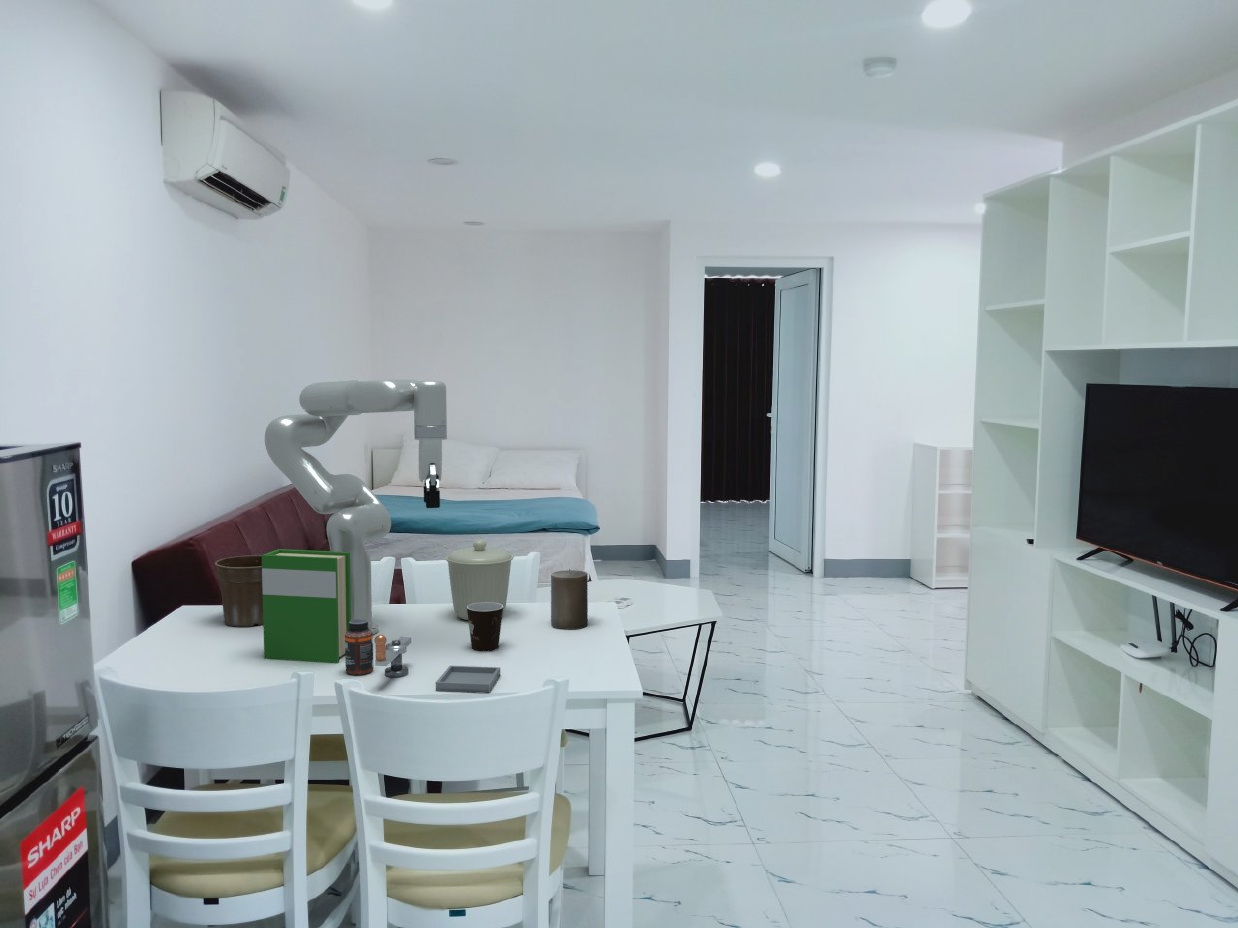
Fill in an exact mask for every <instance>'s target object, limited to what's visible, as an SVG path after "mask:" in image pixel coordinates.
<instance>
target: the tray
mask: <svg viewBox="0 0 1238 928" xmlns="http://www.w3.org/2000/svg"><path fill="white" fill-rule="evenodd" d="M500 677H501V667H498V666H497V667H496V666H494V667H493V666H475V665H473V666H472V665H471V666H470V665H469V666H468V665H449V666H448V667H447V668H446V670H445V671H444V672H443V673H442V675H440V677H439V678H438V679H437V680H436V681H435V692H451V693H455V692H456V693H457V692H458V693H475V692H485V693H484V694H489V692H490V693H491V691H492V689H493V688H494V686H495V685H496V683H497V682H498V680H499V678H500ZM496 681H497V682H496ZM494 684H495V685H494Z"/></svg>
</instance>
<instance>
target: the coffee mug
mask: <svg viewBox="0 0 1238 928" xmlns="http://www.w3.org/2000/svg"><path fill="white" fill-rule="evenodd" d="M467 613H468V620H467V621H468V629H469V637H470V644H471V645H470V646H471V649H472V651H476V652H481V653H482V652H483V653H484V652H491V651H496V650H498V649H499V646H500V638H501V628H502V622H503V614H504V613H503V605H502V604H499V603H493V602H480V603H474V604H470V605H468V606H467ZM502 613H503V614H502Z"/></svg>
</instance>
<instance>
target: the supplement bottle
mask: <svg viewBox="0 0 1238 928" xmlns="http://www.w3.org/2000/svg"><path fill="white" fill-rule="evenodd" d="M344 662H345V663H344V664H345V673H347V674H349V675H352V676H361V675H366V674H370V673H371V672H372V671H374V666H375V664H374V634H373V633H372V631H371V630H370V629H369V628H368V620H365V619H356V620H352V621H350V622H349V630H348V631H347V632H346V633H345V661H344Z"/></svg>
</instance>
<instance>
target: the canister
mask: <svg viewBox="0 0 1238 928" xmlns="http://www.w3.org/2000/svg"><path fill="white" fill-rule="evenodd" d="M514 557H515V556H514V555H513V554H512V553H510V552H508V550H506V549H503V548H498V547H497V548H496V547H489V546H488V547H487V541H485V540H484V539H481V538H480V539H476V540H474V541H473V543H472V547H466V548H465V547H464V548H460V549H456V550H453V551H452V552H450V553H449V554H448V555H446V556H445V557H444V558H445V561H446V562H447V564H448V565H447V566H448V573H449V575H448V576H449V582H450V583H449V584H450V591H451V592H450V594H451V599H452V607H453V610H454V613H455V614H456V616H457V617H458V618H459V619H461V620H464V621H468V613H467V606H468V605H470V604H474V603H480V602H493V603H499V604H502V605H503V613H502V615H503V614H504V612H505V611H506V607H507V600H508V593H509V584H510V576H511V575H510V574H511V565H512V561H513V560H514Z"/></svg>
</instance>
